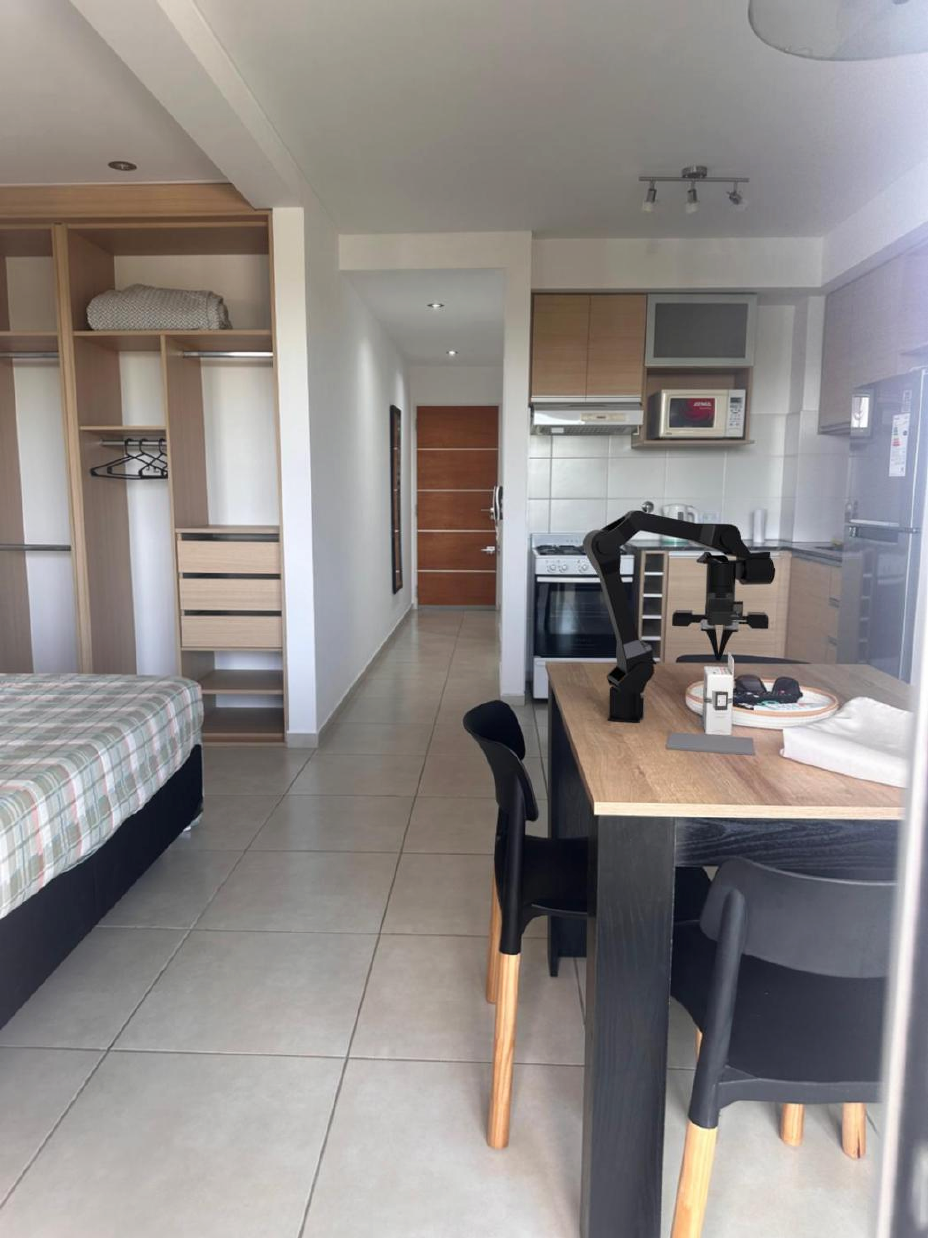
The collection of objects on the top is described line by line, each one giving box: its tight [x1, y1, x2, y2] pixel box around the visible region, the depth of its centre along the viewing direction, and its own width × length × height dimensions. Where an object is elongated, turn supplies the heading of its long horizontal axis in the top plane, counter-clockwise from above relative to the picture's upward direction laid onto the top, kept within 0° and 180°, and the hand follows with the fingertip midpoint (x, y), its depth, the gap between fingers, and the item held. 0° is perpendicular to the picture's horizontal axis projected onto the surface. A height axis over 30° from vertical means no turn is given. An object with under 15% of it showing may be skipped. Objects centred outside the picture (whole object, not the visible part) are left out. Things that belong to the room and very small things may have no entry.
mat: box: [666, 731, 756, 756], centre depth 152 cm, size 15×10×1 cm, turn 73°
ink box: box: [701, 652, 735, 736], centre depth 161 cm, size 9×5×15 cm, turn 168°
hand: (718, 660), depth 172 cm, fingers closed
